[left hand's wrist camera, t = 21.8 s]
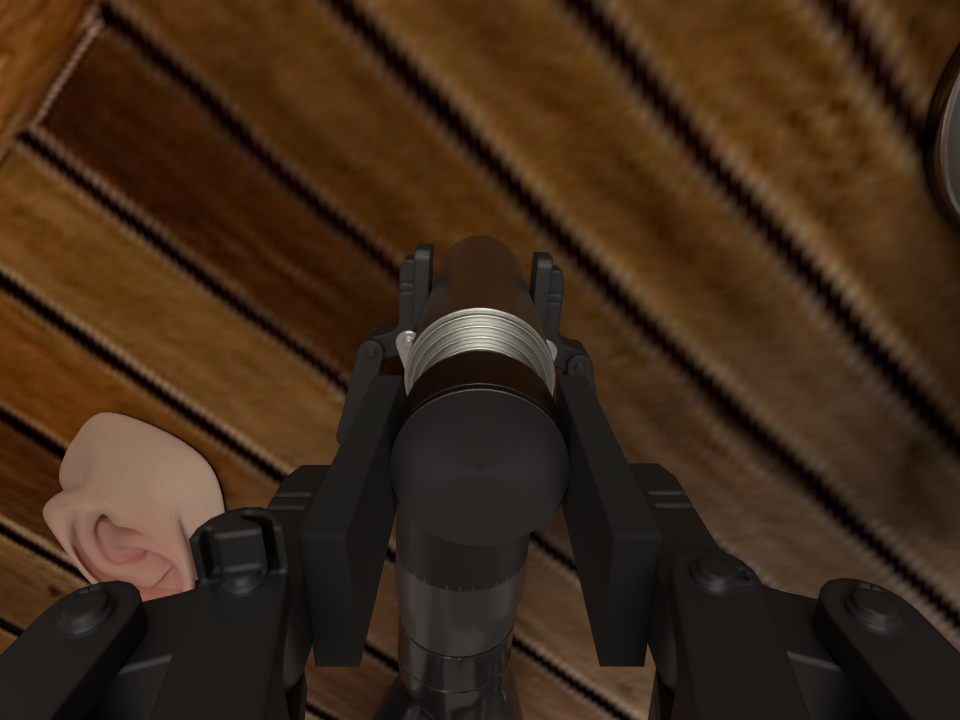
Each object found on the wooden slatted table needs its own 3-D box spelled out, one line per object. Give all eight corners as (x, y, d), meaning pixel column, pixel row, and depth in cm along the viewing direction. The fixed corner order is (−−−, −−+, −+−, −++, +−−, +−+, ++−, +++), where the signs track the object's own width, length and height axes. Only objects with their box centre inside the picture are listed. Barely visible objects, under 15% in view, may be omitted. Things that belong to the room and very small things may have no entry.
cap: (584, 444, 15) (602, 498, 13) (456, 511, 16) (452, 572, 13) (507, 320, 14) (512, 354, 11) (372, 399, 15) (351, 446, 12)
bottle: (446, 228, 31) (392, 346, 12) (528, 244, 32) (605, 383, 12) (433, 308, 33) (366, 525, 14) (511, 322, 33) (554, 554, 14)
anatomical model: (9, 428, 31) (210, 470, 32) (59, 399, 35) (238, 438, 36) (20, 602, 36) (196, 633, 37) (63, 560, 40) (222, 590, 41)
